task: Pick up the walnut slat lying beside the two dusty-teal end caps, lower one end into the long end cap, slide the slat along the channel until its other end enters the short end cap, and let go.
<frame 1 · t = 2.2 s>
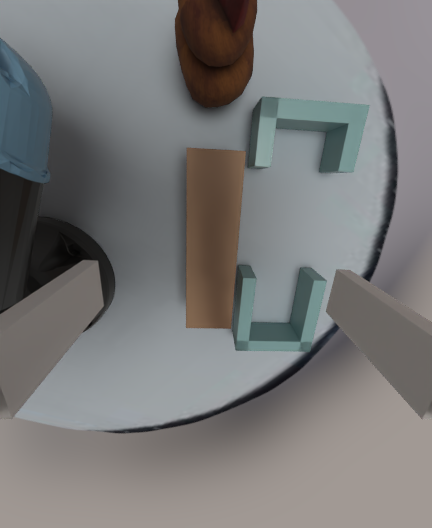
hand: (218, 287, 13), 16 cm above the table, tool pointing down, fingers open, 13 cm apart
slat: (210, 236, 28), on the table
endcaps: (279, 240, 28), on the table
wooden figurine: (213, 77, 23), on the table
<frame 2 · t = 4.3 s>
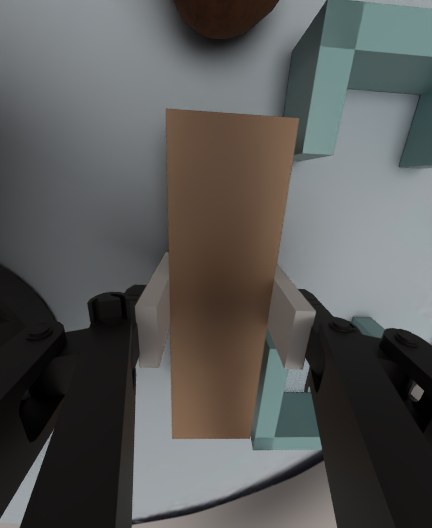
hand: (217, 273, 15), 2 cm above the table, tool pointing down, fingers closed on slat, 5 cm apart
slat: (215, 273, 17), on the table, touching gripper
endcaps: (323, 277, 18), on the table
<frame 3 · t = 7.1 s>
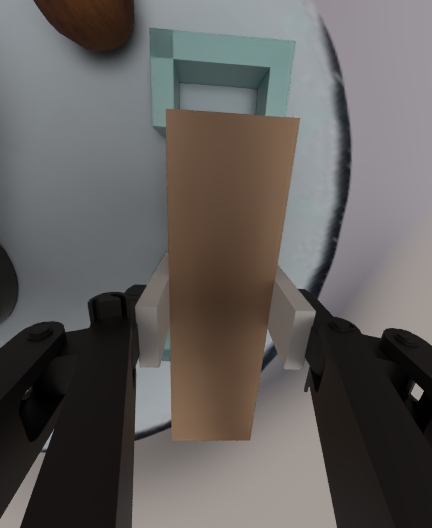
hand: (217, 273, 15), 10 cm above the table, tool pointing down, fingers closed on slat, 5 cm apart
slat: (215, 274, 17), point 7 cm above the table, touching gripper
endcaps: (212, 227, 23), on the table
wooden figurine: (104, 14, 18), on the table
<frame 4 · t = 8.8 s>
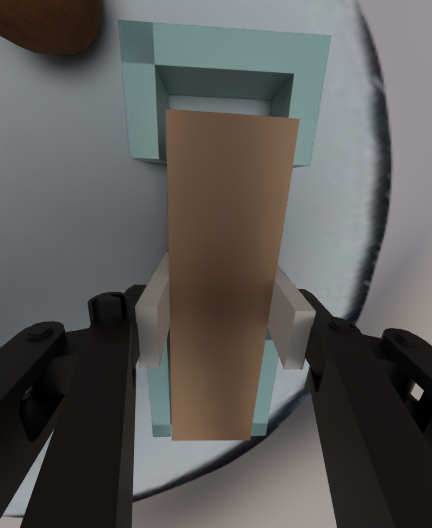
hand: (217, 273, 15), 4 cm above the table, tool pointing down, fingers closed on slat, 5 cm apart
slat: (215, 274, 17), point 1 cm above the table, touching gripper
endcaps: (214, 272, 19), on the table
wooden figurine: (64, 5, 13), on the table
when the fingers open (4 cm above the table, at t = 10.1 s): slat drops 2 cm, on the table.
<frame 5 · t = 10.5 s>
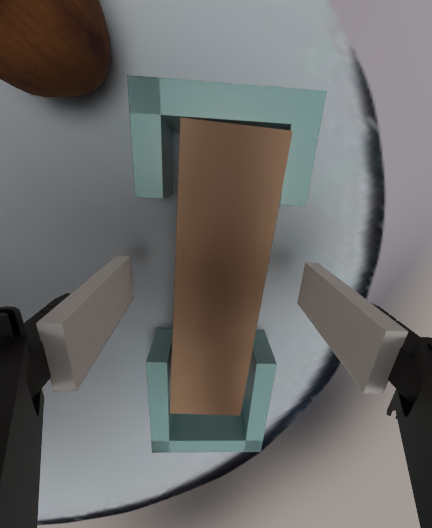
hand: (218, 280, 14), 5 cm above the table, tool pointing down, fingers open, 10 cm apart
slat: (214, 266, 19), on the table
endcaps: (213, 294, 19), on the table
wooden figurine: (74, 48, 14), on the table
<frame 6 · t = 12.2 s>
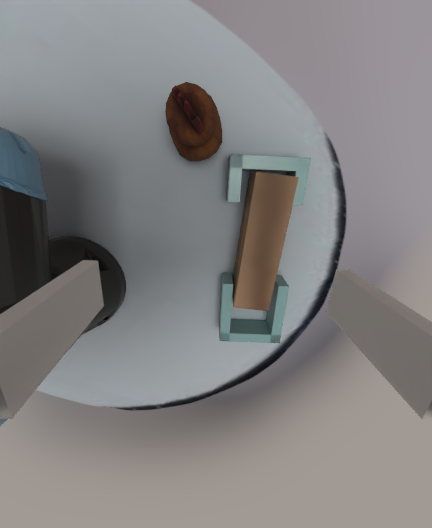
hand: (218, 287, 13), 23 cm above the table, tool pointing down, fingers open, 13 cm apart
slat: (255, 237, 35), on the table
endcaps: (254, 253, 36), on the table
wooden figurine: (198, 135, 30), on the table
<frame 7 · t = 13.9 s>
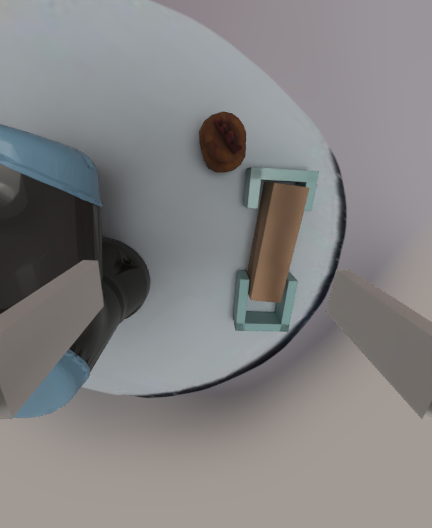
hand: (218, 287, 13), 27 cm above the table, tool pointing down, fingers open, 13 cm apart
slat: (267, 238, 40), on the table
endcaps: (266, 252, 40), on the table
wooden figurine: (220, 149, 35), on the table
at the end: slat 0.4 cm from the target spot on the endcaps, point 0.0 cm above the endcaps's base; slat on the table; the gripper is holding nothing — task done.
